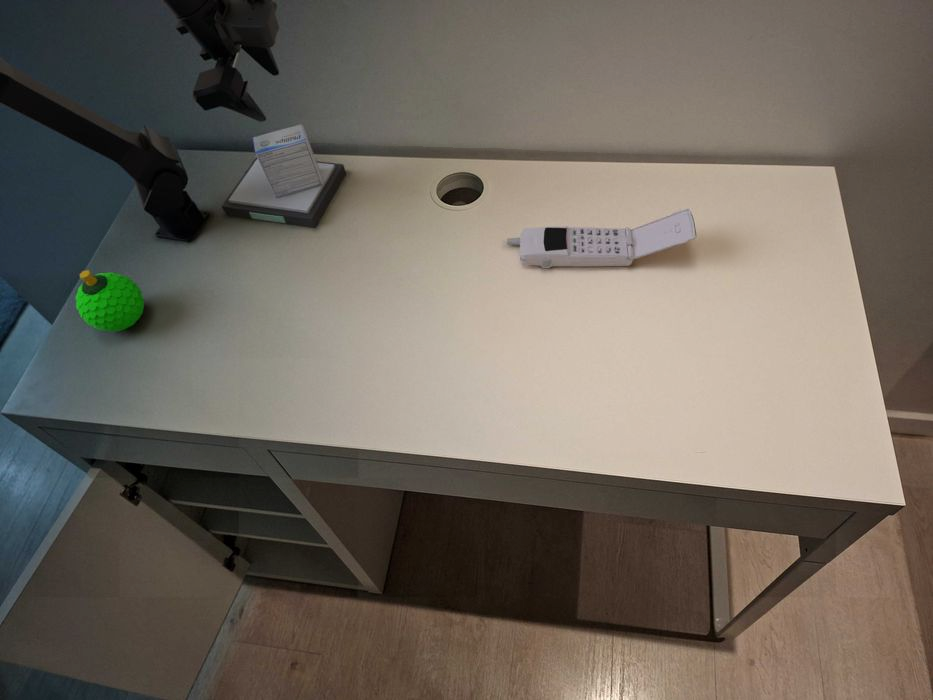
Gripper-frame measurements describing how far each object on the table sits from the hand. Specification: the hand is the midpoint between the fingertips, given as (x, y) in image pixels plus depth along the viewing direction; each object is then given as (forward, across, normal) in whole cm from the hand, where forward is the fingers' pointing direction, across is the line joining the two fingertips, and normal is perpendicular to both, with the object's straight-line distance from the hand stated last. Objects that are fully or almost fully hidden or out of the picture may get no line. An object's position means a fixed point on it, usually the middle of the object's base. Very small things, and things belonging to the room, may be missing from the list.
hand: (270, 97), depth 88 cm
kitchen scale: (+13, -7, +5) cm, 16 cm away
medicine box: (+12, -7, +2) cm, 13 cm away
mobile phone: (+24, -19, -43) cm, 53 cm away
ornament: (+5, -33, +20) cm, 39 cm away
